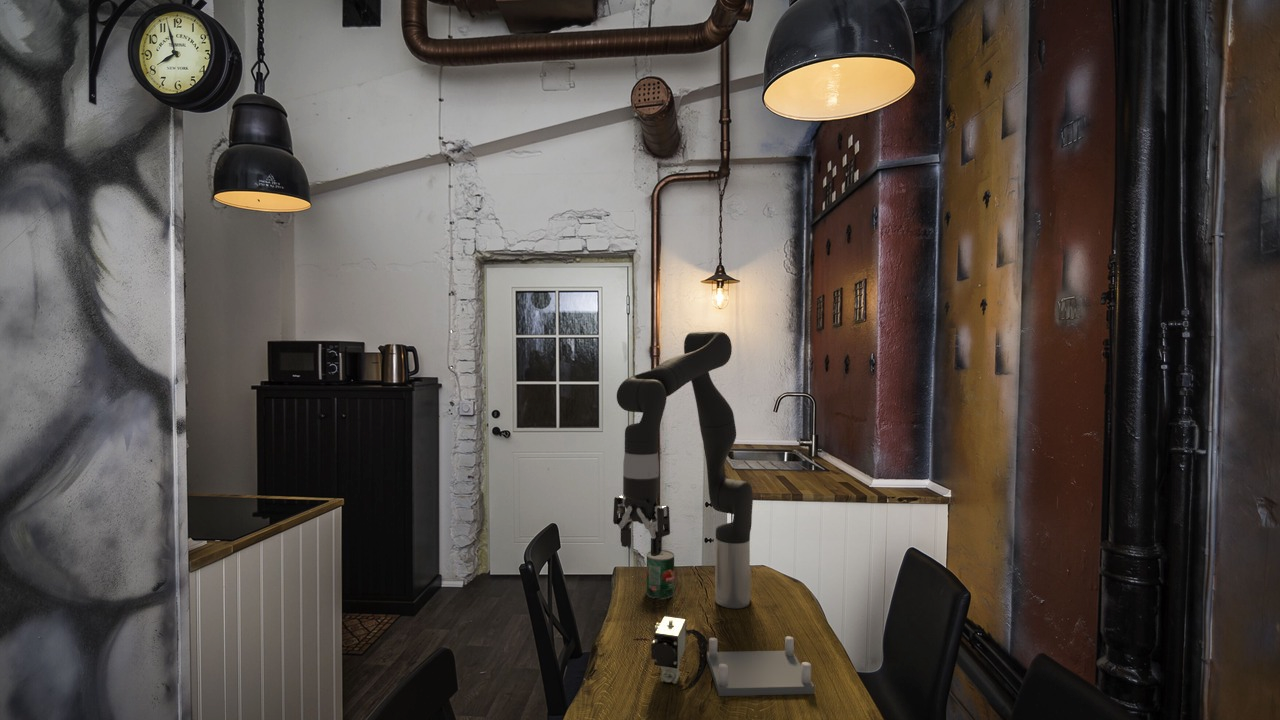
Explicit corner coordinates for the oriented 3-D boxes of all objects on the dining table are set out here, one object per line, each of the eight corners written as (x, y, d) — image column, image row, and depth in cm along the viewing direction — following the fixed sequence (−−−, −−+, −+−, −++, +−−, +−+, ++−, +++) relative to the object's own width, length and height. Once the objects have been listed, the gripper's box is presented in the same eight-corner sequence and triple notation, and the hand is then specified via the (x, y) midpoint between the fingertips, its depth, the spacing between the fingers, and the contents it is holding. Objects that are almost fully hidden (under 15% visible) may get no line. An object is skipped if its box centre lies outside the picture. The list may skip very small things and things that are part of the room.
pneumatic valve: (687, 665, 123) (687, 610, 123) (675, 696, 112) (676, 634, 112) (661, 662, 125) (662, 606, 125) (648, 691, 113) (648, 631, 114)
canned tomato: (674, 599, 158) (675, 559, 158) (646, 599, 158) (646, 559, 158) (673, 588, 165) (673, 549, 165) (646, 587, 166) (646, 549, 166)
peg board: (718, 696, 112) (719, 670, 112) (706, 658, 126) (706, 636, 126) (814, 693, 113) (814, 668, 113) (791, 657, 127) (792, 634, 127)
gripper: (678, 476, 119) (677, 554, 119) (629, 466, 129) (628, 539, 129) (654, 481, 113) (653, 563, 114) (604, 471, 123) (604, 546, 123)
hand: (640, 550), depth 121 cm, fingers open, 8 cm apart
